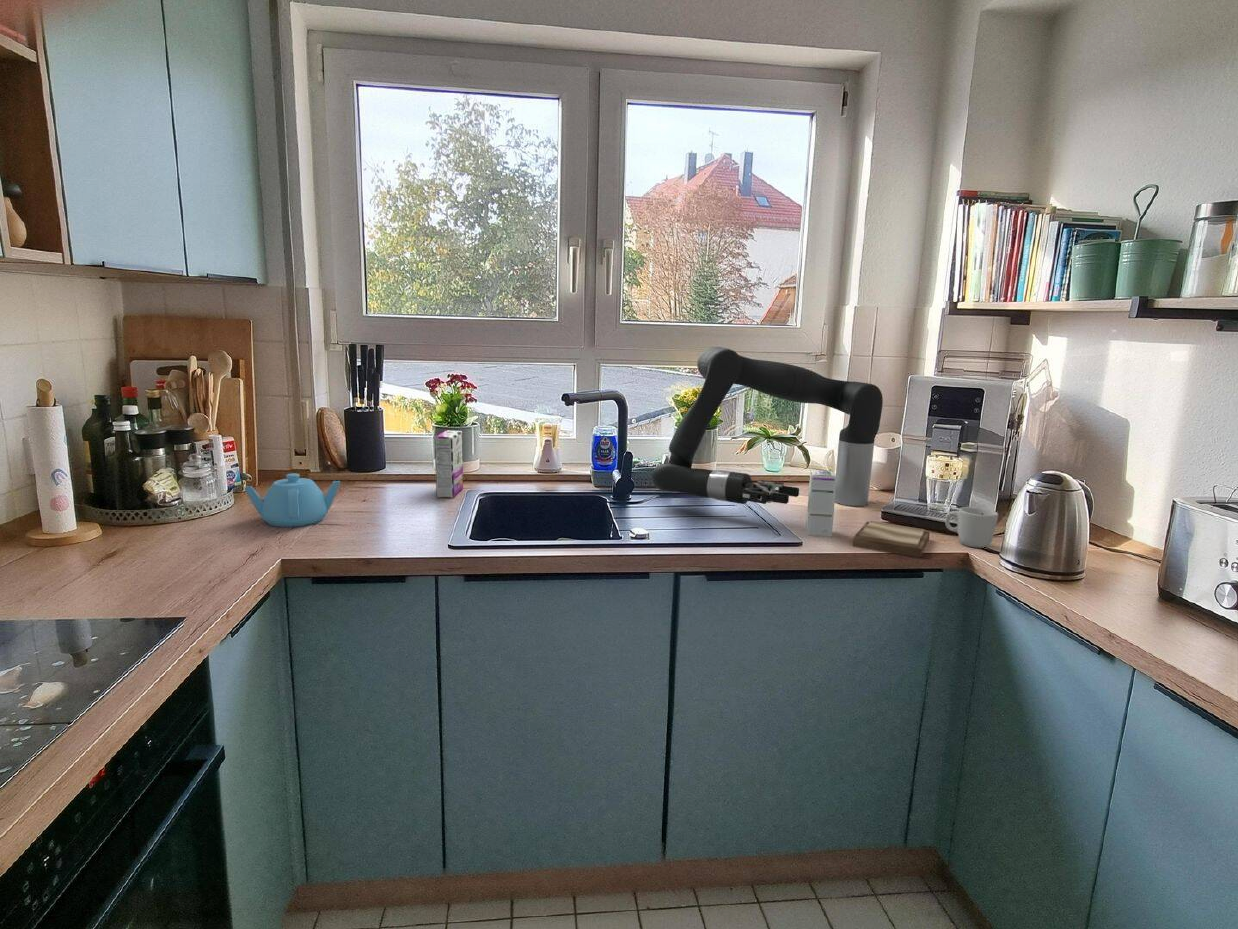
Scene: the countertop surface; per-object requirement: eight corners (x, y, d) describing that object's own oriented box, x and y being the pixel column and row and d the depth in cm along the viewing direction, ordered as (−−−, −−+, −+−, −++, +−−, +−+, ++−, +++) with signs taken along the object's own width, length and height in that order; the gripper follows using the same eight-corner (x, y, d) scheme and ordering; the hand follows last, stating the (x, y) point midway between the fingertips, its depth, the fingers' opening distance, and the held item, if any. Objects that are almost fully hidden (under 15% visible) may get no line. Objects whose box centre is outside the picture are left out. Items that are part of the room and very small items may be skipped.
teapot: (241, 524, 158) (237, 476, 156) (293, 508, 172) (291, 465, 170) (295, 533, 153) (292, 484, 151) (344, 516, 167) (342, 471, 165)
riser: (866, 529, 171) (867, 519, 170) (928, 539, 164) (930, 529, 164) (852, 546, 157) (853, 535, 157) (920, 557, 151) (921, 546, 150)
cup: (937, 541, 163) (941, 508, 161) (949, 535, 169) (953, 502, 167) (987, 552, 156) (992, 517, 154) (998, 545, 162) (1003, 511, 160)
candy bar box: (445, 488, 198) (444, 429, 195) (463, 488, 198) (463, 430, 195) (434, 497, 187) (433, 436, 184) (453, 498, 187) (453, 436, 184)
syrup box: (832, 537, 163) (838, 475, 160) (806, 535, 164) (811, 473, 162) (830, 530, 169) (835, 471, 166) (804, 528, 170) (809, 469, 167)
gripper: (719, 476, 169) (786, 485, 161) (740, 467, 181) (803, 475, 174) (717, 507, 171) (783, 517, 163) (738, 495, 183) (800, 505, 175)
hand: (793, 495), depth 168 cm, fingers open, 8 cm apart
